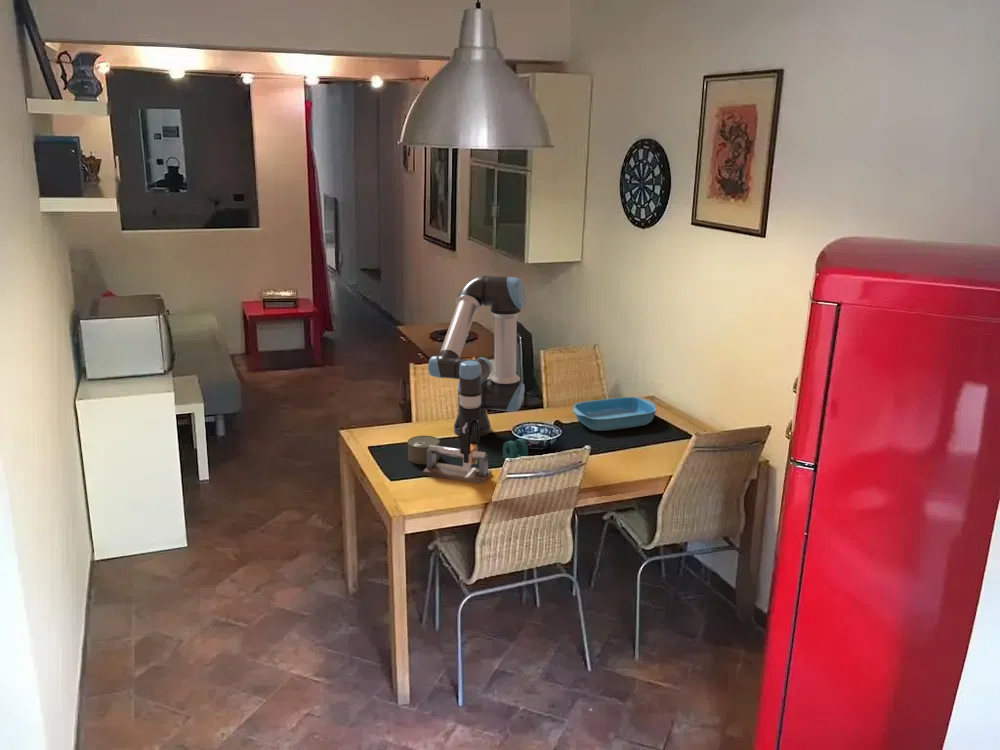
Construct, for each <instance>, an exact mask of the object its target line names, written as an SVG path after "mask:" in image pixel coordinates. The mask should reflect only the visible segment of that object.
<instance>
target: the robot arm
mask: <svg viewBox="0 0 1000 750" xmlns="http://www.w3.org/2000/svg"><path fill="white" fill-rule="evenodd" d="M526 294H527V293H526V287H525V284H524V282H523V280H522V279H521V278H518V277H512V276H505V275H504V276H503V275H502V276H500V275H499V276H498V275H487V274H486V275H478V276H476V277H474V278H472V279H471V280H469V281H468V282H467V283H466V284H465V285H463V287H462V288H461V289H460V291H459V293H458V294H457V297H456V299H455V305H456V306H455V310H454V312H453V316H452V318H451V321H450V324H449V327H448V329H447V332H446V335H445V336H444V340H443V343H442V344H441V345H442V346H441V349H440V351H439V354H438V355H433V356H431V357H430V359H429V361H428V364H427V366H428V367H427V368H428V370H427V371H428V373H429V375H430V376H431V377H435V378H438V379H440V378H441V379H454V380H458V383H457V414H456V415H457V416H456V419H455V420H454V424H453V432H454V434H456V435H457V436H460V449H461V451H460V453H461V454H463V458H462V466H463V470H465V471H471V468H472V466H471V453H470V447H471V444H476V445H477V447H480V446H481V444H480V440H481V437H484V436H487V435H489V434H490V433H491V431H492V426H491V425H492V424H491V422H490V419H489V416H488V413H487V411H488V410H494V411H502V412H507V413H508V412H514V413H515V412H517V411H518V410H519V409H520V408H521V406H522V403H523V400H524V395H525V390H526V389H525V384H524V383H523V382H521V377H520V376H519V375H518V374H517V328H518V327H517V321H518V319H517V317H518V315H519V314H520V313H522V312H521V311H522V309H523V308H525V306H526V300H527V296H526ZM484 306H485V307H490V313H491V314H492V315H493V316H494V374H493V375H492V376H491V377H490V379H489V376H490V375H491V373H492V371H493V366H492V362H491V361H490V360H489V358H486V357H483V356H482V357H481V356H479V357H478V358H476V359H470V358H461V355H462V352H463V349H464V346H465V344H466V340H467V338H468V335H469V332H470V329H471V326H472V324H473V321H474V318H475V316H476V315H475V314H476V313H477V312H479V311H480V309H481V307H484ZM477 464H478V460H476V461H475V462H474V464H473V465H477Z"/></svg>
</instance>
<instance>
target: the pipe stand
mask: <svg viewBox="0 0 1000 750" xmlns="http://www.w3.org/2000/svg"><path fill="white" fill-rule="evenodd" d="M460 451H461V448H455V447H449V446H440V445H439V446H435V445H430V446H429V448H428V450H427V451H426V455H427V464H426V468H424V470H422V476H425V477H432V478H433V477H434V478H439V479H445V480H453V481H459V482H467V483H471V484H472V483H473V484H479V485H484V484H485V483H486V482H487V480H488V479H489V478H490V477H491V476H492V475H491V474H493V471H492V470H490V469H489V454H487V452H485V451H478V450H477V451H472V459H474V460H477V461H478V468H477V467H471V471H465V470H463V465H457V464H456V465H455V464H450V463H442V462H437V461H436V454H439V456H447V457H455V458H461V459H463V454H461V453H460Z"/></svg>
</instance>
